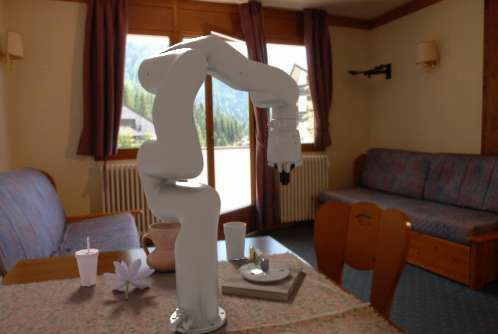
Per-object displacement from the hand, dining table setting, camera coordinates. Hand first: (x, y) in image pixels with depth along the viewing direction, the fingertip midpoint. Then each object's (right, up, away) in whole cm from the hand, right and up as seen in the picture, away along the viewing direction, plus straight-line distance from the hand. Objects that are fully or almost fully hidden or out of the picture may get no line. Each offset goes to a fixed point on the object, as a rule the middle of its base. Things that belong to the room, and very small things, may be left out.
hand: (285, 184), depth 114 cm
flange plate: (-7, -25, -5) cm, 27 cm away
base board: (-7, -28, -7) cm, 29 cm away
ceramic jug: (-38, -28, +7) cm, 47 cm away
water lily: (-43, -29, -13) cm, 54 cm away
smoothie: (-58, -29, -6) cm, 65 cm away
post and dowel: (-8, -25, -3) cm, 27 cm away
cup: (-16, -27, +15) cm, 34 cm away
